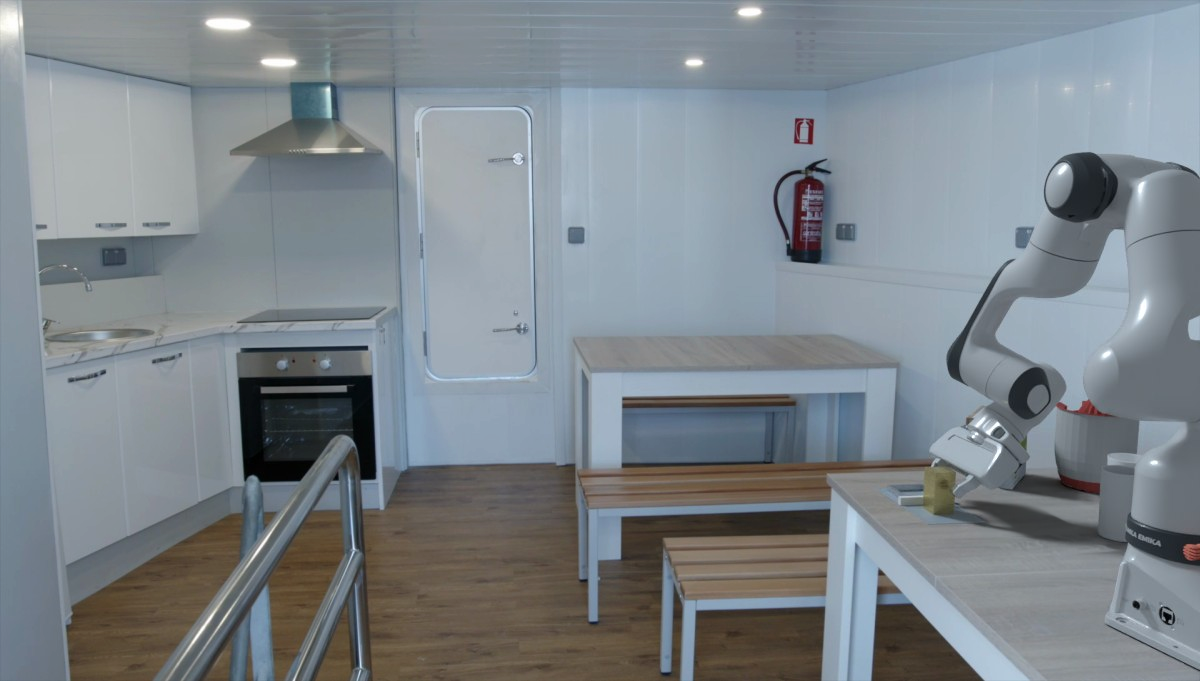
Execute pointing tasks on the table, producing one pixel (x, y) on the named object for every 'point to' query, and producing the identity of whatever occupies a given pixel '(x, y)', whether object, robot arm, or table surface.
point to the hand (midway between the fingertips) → (940, 487)
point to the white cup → (1123, 459)
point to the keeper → (904, 489)
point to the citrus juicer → (1090, 443)
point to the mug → (1115, 501)
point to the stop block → (938, 490)
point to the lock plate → (916, 508)
